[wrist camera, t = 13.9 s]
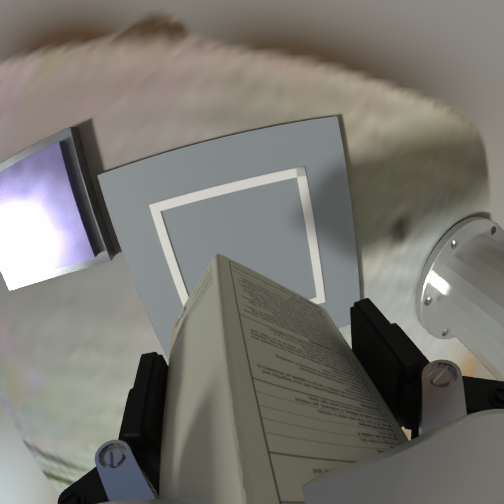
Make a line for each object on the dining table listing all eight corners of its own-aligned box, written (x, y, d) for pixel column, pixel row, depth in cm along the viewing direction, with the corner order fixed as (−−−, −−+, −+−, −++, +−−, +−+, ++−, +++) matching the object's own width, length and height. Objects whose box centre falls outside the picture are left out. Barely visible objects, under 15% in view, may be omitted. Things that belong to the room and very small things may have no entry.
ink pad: (77, 127, 17) (65, 127, 16) (115, 254, 21) (107, 265, 19) (-20, 179, 17) (-34, 183, 15) (16, 283, 21) (5, 294, 19)
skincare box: (171, 324, 14) (144, 605, 3) (218, 245, 13) (254, 606, 2) (281, 370, 16) (347, 591, 4) (333, 306, 15) (470, 535, 3)
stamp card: (333, 116, 19) (337, 115, 18) (358, 316, 25) (361, 321, 24) (100, 174, 19) (96, 175, 18) (172, 363, 25) (172, 368, 24)
